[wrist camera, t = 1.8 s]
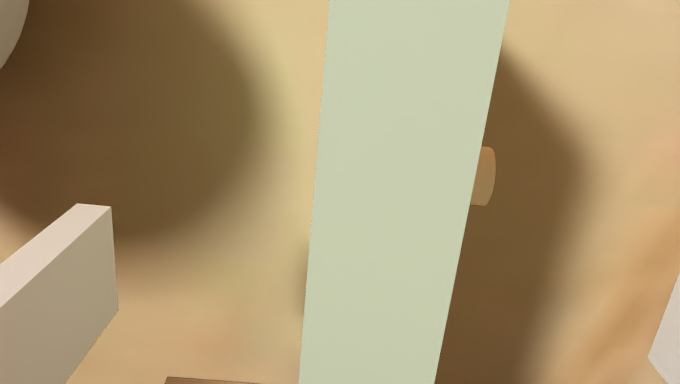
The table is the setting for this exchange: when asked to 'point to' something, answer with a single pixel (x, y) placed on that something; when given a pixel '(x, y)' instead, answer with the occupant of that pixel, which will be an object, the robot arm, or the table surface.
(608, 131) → the table surface
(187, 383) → the wooden shelf unit
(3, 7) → the teacup
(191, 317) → the table surface
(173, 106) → the table surface
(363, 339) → the door
